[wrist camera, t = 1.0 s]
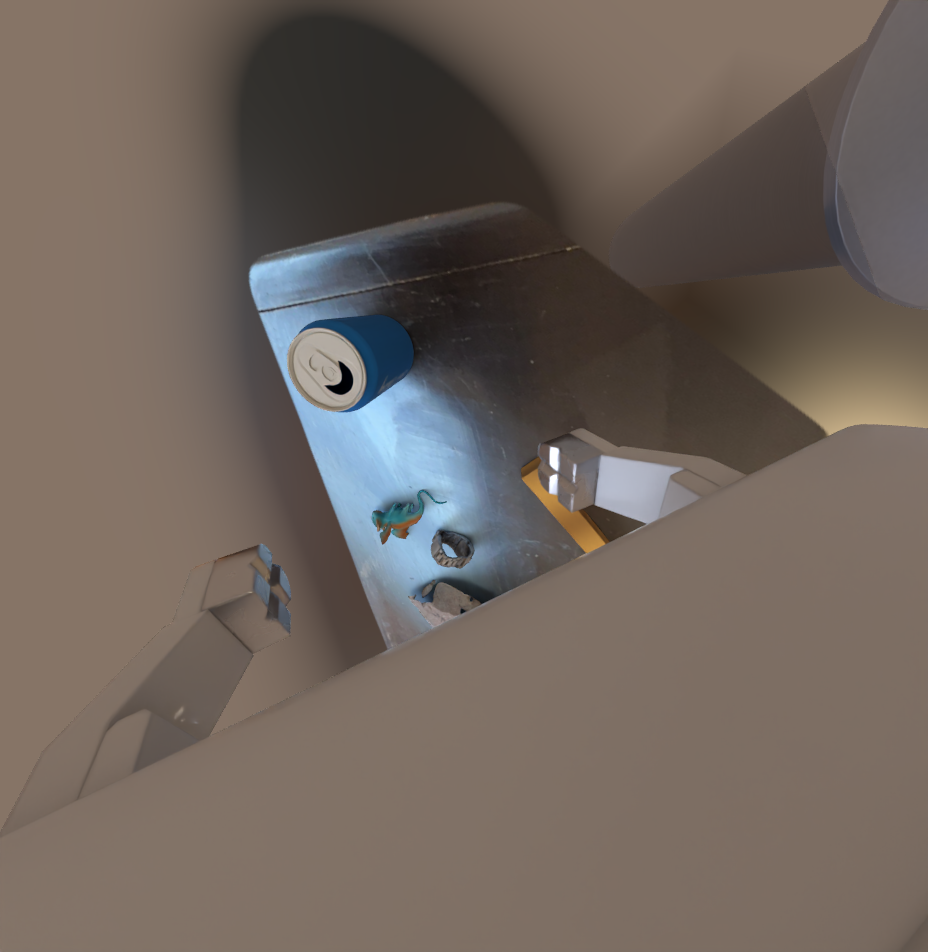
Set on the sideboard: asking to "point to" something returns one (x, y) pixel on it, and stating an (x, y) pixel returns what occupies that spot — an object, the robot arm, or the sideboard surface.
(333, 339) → the beverage can
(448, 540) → the wristwatch
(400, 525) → the dragon figurine
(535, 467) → the fry stick
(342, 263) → the sideboard surface
